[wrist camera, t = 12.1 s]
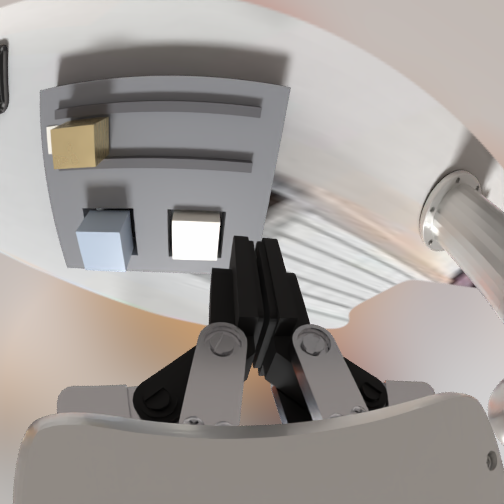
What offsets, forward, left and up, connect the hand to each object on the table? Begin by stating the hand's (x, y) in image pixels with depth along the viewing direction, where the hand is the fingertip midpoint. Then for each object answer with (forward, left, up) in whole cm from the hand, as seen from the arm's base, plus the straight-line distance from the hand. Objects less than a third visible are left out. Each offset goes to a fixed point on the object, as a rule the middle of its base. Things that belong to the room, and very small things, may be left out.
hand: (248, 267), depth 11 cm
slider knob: (+11, -2, -12) cm, 17 cm away
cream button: (+2, +7, -15) cm, 16 cm away
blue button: (+10, +7, -13) cm, 18 cm away
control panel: (+6, +2, -15) cm, 17 cm away
